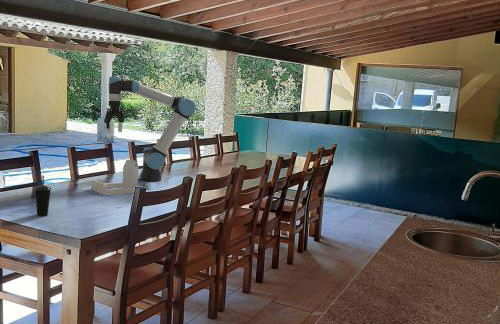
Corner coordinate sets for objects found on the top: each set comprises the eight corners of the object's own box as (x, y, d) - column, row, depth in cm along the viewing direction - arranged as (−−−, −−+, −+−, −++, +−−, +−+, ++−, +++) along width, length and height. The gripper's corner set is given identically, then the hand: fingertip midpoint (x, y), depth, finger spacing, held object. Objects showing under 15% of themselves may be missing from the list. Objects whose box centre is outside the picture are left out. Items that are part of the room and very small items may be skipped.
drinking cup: (37, 212, 251) (37, 173, 248) (52, 213, 251) (53, 174, 248) (31, 216, 243) (32, 176, 240) (47, 217, 244) (48, 177, 241)
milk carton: (132, 191, 315) (133, 161, 312) (122, 189, 317) (123, 160, 314) (137, 189, 322) (138, 160, 319) (127, 187, 324) (128, 158, 321)
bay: (131, 185, 330) (131, 176, 329) (145, 191, 317) (146, 182, 316) (91, 188, 312) (91, 179, 311) (104, 195, 298) (105, 185, 297)
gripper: (120, 99, 339) (120, 130, 342) (98, 100, 316) (98, 133, 319) (129, 100, 337) (129, 131, 340) (108, 101, 313) (108, 134, 317)
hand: (114, 132), depth 330 cm, fingers open, 13 cm apart
